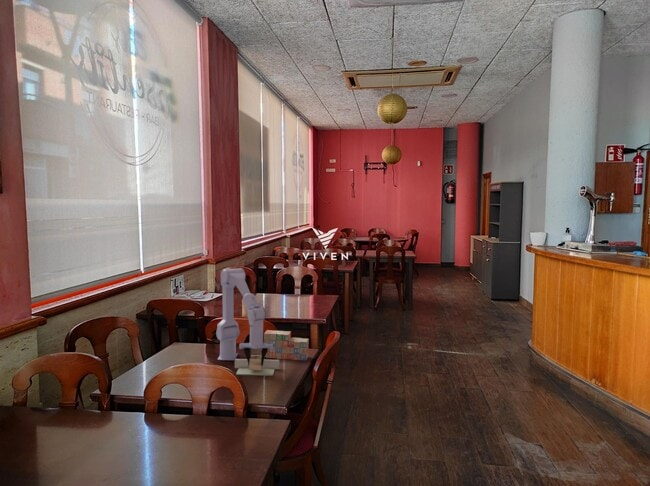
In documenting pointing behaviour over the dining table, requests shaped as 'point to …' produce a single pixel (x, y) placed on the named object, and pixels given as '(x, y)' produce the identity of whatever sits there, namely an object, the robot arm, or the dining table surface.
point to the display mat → (255, 372)
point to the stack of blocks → (286, 346)
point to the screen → (266, 365)
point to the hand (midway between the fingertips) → (255, 364)
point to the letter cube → (255, 362)
